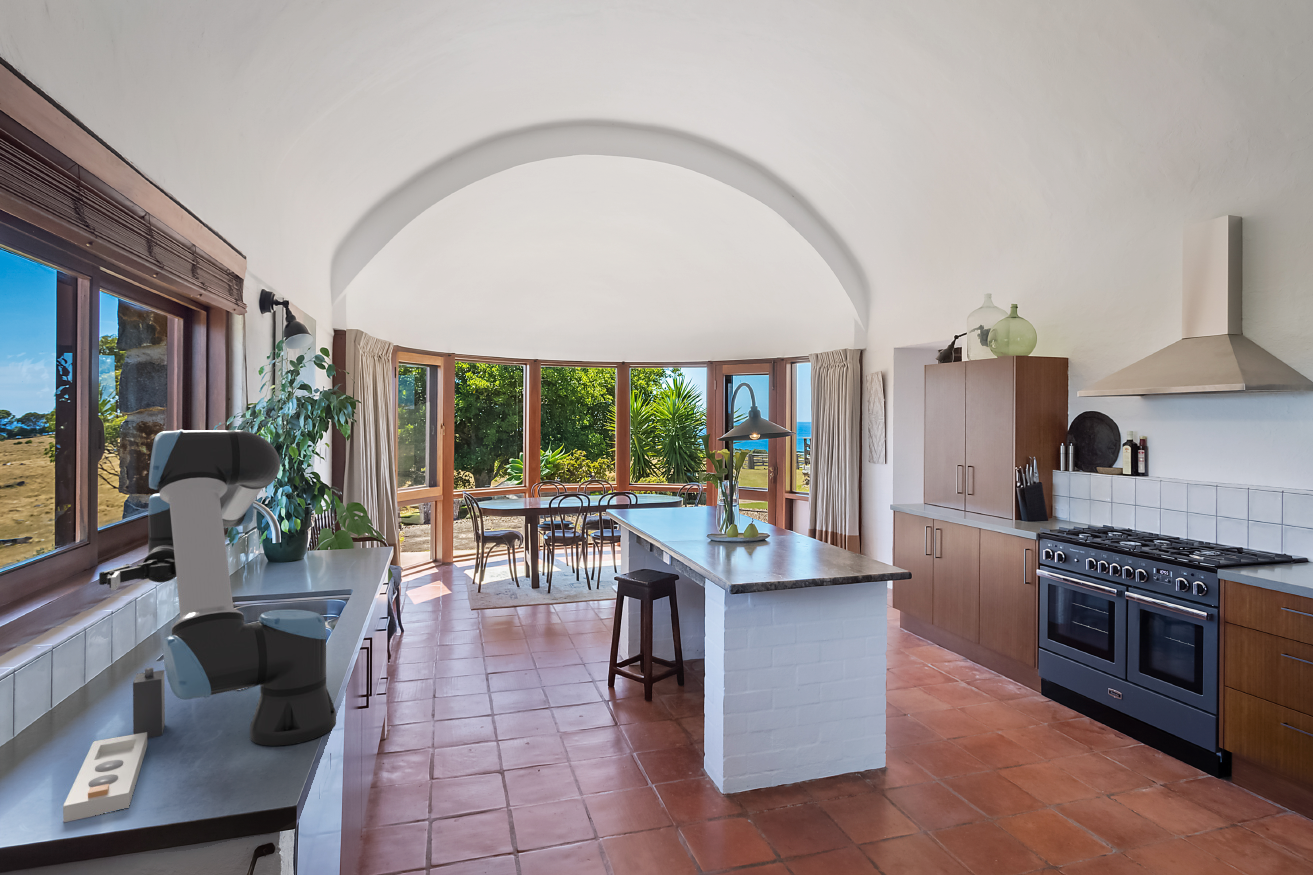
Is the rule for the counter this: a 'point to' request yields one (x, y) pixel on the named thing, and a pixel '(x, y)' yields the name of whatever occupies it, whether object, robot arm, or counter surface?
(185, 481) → the robot arm
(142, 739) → the power strip
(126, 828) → the counter surface
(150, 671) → the grey block with knob
